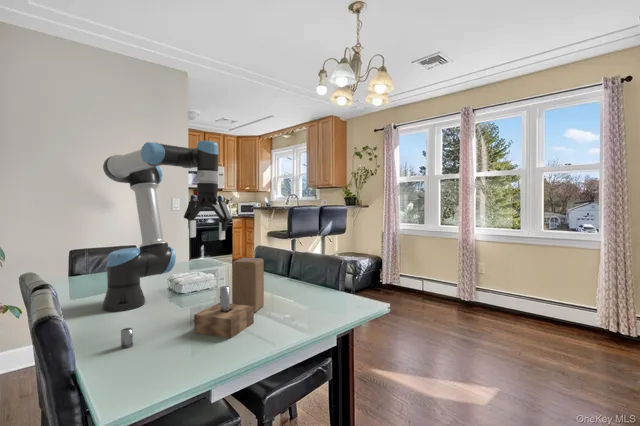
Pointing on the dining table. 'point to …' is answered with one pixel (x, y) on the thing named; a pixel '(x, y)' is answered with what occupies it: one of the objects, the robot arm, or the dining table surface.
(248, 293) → the wooden block
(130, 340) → the short pin
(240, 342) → the dining table surface
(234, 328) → the socket block
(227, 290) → the long pin
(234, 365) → the dining table surface
